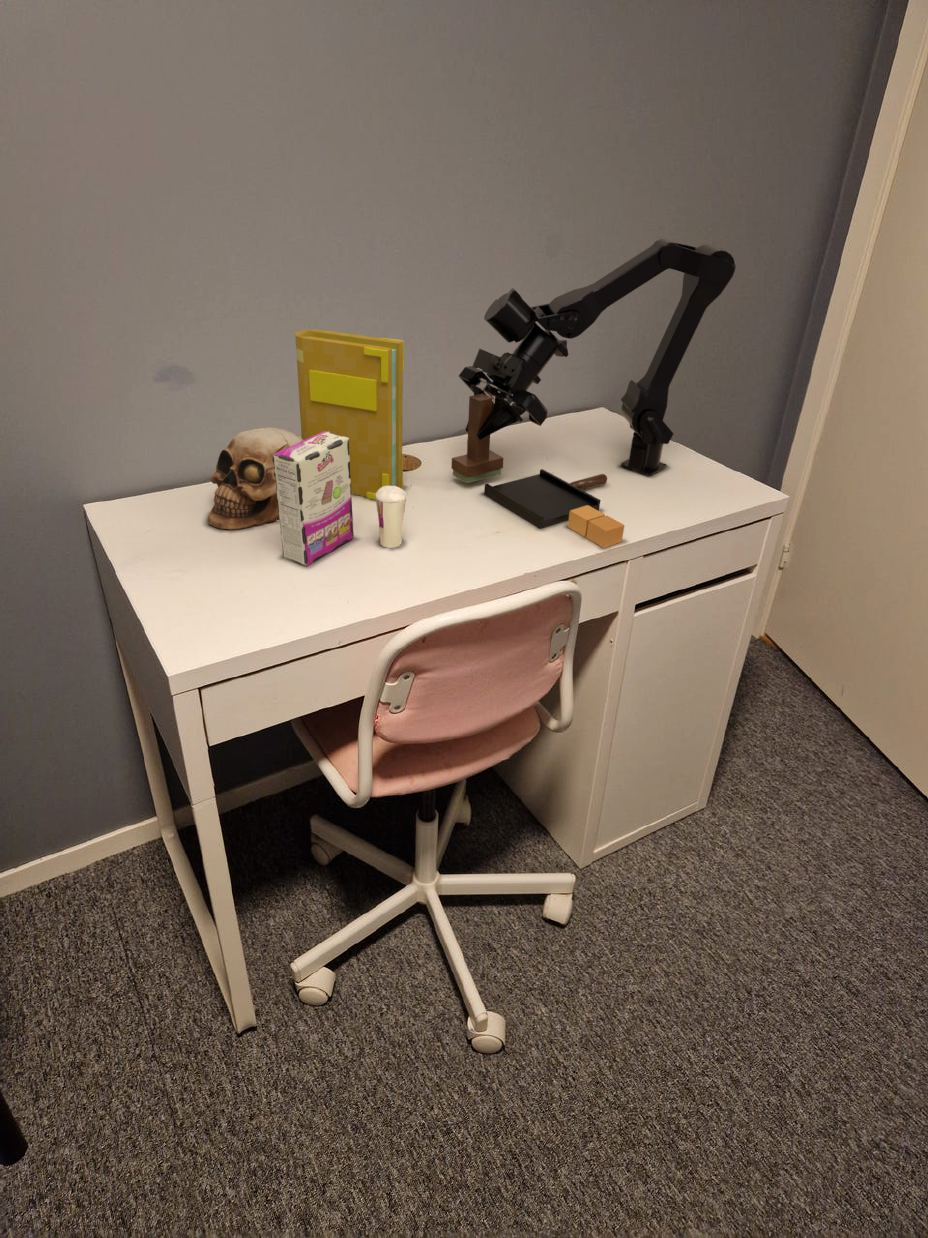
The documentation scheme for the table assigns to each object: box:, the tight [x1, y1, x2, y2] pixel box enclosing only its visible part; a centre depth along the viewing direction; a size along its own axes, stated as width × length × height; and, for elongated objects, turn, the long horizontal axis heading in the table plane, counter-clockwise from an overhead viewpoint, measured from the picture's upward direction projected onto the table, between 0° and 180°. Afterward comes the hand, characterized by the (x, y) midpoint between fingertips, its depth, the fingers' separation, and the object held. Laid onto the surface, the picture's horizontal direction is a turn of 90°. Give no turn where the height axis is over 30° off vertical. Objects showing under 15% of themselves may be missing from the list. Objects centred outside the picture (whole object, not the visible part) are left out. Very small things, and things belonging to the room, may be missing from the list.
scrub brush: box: [451, 394, 505, 484], centre depth 146 cm, size 8×4×14 cm, turn 126°
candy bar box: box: [273, 431, 355, 567], centre depth 123 cm, size 11×5×16 cm, turn 148°
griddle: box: [483, 468, 608, 529], centre depth 147 cm, size 22×15×2 cm
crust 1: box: [567, 505, 606, 538], centre depth 136 cm, size 4×4×3 cm
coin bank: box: [207, 427, 303, 530], centre depth 136 cm, size 16×17×13 cm
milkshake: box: [375, 485, 412, 549], centre depth 127 cm, size 4×5×10 cm
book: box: [295, 328, 405, 501], centre depth 140 cm, size 17×7×25 cm, turn 71°
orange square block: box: [585, 514, 625, 549], centre depth 134 cm, size 4×4×3 cm
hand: (472, 434), depth 145 cm, fingers closed on scrub brush, 3 cm apart
